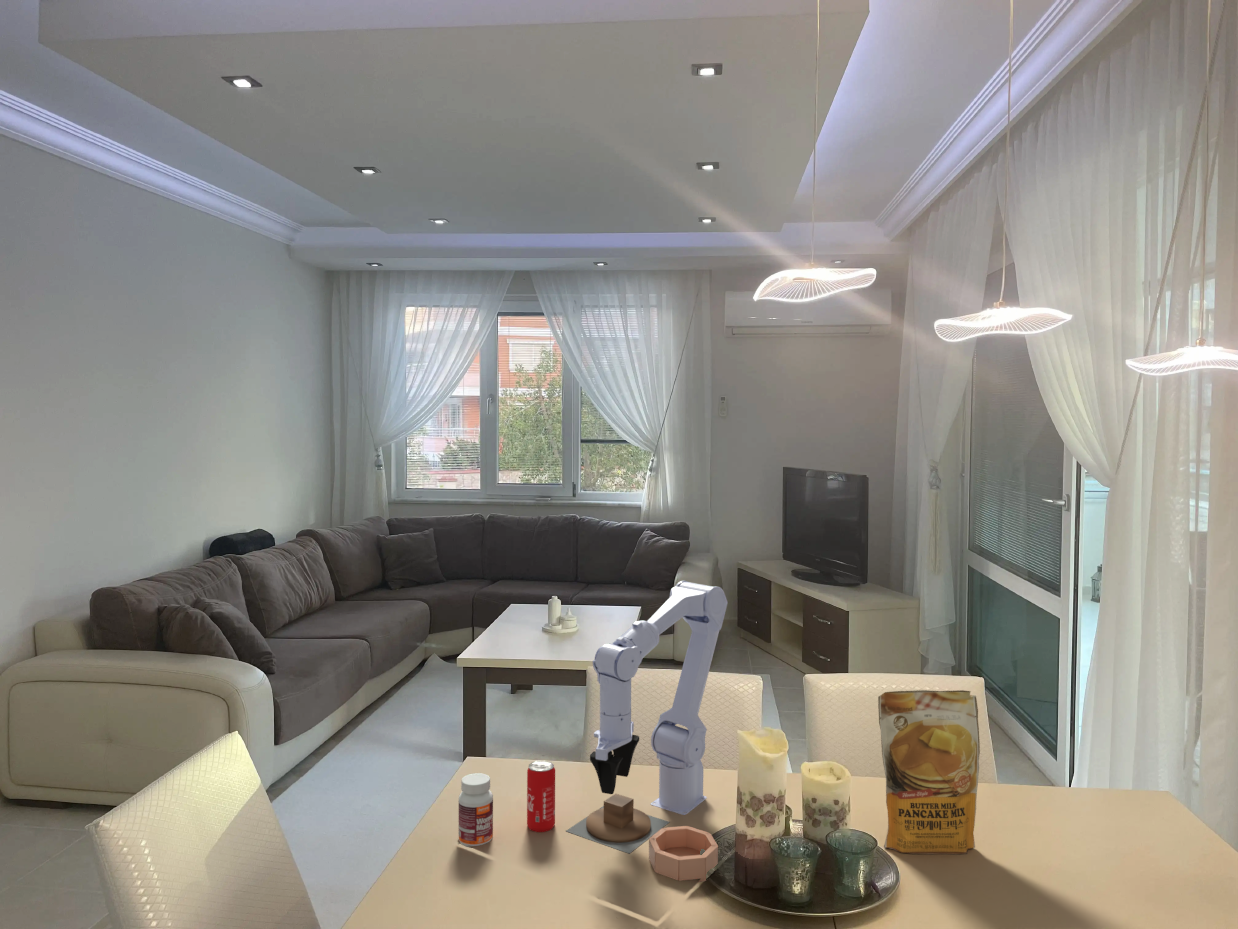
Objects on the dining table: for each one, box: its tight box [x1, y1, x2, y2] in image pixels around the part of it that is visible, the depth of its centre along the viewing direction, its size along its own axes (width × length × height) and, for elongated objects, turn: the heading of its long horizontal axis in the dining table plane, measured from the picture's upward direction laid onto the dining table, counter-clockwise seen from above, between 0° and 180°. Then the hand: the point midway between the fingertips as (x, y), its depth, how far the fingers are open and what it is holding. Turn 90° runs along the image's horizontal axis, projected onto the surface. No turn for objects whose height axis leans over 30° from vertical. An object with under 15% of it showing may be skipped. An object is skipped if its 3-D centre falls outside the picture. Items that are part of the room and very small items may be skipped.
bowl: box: [648, 825, 719, 883], centre depth 141 cm, size 11×11×4 cm
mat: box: [565, 805, 671, 855], centre depth 154 cm, size 14×14×1 cm
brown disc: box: [586, 793, 651, 843], centre depth 154 cm, size 12×12×5 cm
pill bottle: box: [458, 772, 494, 849], centre depth 149 cm, size 6×6×11 cm
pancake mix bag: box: [877, 689, 981, 855], centre depth 148 cm, size 7×19×28 cm, turn 91°
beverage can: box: [526, 760, 556, 833], centre depth 153 cm, size 5×5×12 cm
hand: (615, 784), depth 151 cm, fingers open, 7 cm apart
